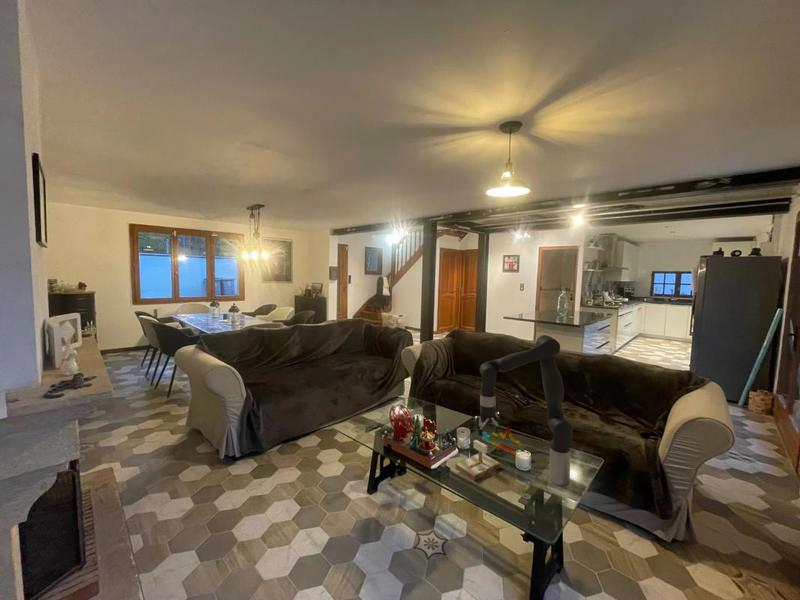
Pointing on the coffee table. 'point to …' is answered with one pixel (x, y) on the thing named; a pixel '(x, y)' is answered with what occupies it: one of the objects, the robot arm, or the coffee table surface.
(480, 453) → the wooden mallet
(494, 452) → the coffee table surface
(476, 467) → the desk tray with supplies
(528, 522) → the coffee table surface
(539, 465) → the coffee table surface
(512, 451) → the chart
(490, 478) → the coffee table surface
